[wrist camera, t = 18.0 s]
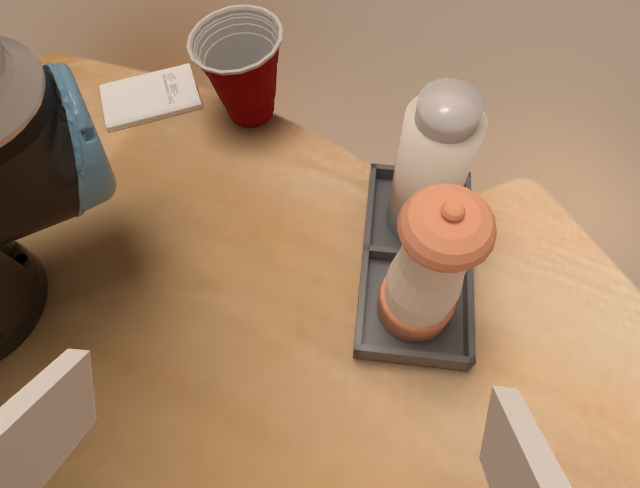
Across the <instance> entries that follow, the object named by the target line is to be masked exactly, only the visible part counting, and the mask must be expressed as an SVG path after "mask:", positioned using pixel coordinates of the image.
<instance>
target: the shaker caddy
mask: <svg viewBox="0 0 640 488" xmlns="http://www.w3.org/2000/svg"><path fill="white" fill-rule="evenodd" d="M394 170H395V166H393V165H381V164H371V172H370V181H369V191H368V202H367V213H366V223H365V234H364V245H363V256H362V266H361V277H360V288H359V299H358V309H357V320H356V331H355V341H354V352H353V358H358V359H366V360H375V361H383V362H392V363H400V364H409V365H417V366H426V367H434V368H443V369H451V370H460V371H468V370H470V369H471V368H472V367H473V366H474V365H475V364H476V360H475V321H474V282H473V268H472V269H470V270H467V271H466V273H465V275H464V280H463V285H462V289H461V293H460V296H459V299H458V300H457V302H456V306H455V309H454V313H453V315H452V317H451V318H450V320H449V321H448V323H447V324H446V326H445V327H444V329H443V330H442V331H441V333H440V334H439V335H437V336H436V337H434V338H433V339H431V340H429V341H425V342H421V343H412V342H406V341H403V340H400V339H398V338H396V337H394V336H393V335H392V334H390V333H389V332H388V331H387V330H386V329H385V327H384V326H383V324H382V323H381V322H380V319H379V315H378V312H377V300H378V296H379V291H380V287H381V285H382V282H383V279H384V278H385V276H386V275H387V272H388V269H389V267H390V264H391V262H392V261H393V259H394V258H395V256H396V255H397V253H398V252H399V250H400V249H401V246H402V243H401V241H400V240H399V239H397V238H396V237H395V236H394V235H393V234H392V233H391V231H390V230H389V228H388V226H387V222H386V213H387V207H388V202H389V197H390V191H391V186H392V181H393V175H394ZM463 187H466V188H468V189H470V190H471V172H469V174H468V177H467V179H466V182H465V184H464V186H463Z"/></svg>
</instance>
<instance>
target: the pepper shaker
mask: <svg viewBox="0 0 640 488" xmlns="http://www.w3.org/2000/svg"><path fill="white" fill-rule="evenodd" d="M496 232H497V231H496V222H495V217H494V215H493V213H492V211H491V209H490V207H489V206H488V205H487V203H486V202H485V201H484V200H483V199H482V198H481V197H480V196H479V195H478V194H476V193H475V192H473V191H472V190H470V189H468V188H466V187H463V186H460V185H456V184H446V183H440V184H435V185H431V186H426V187H424V188H422V189H420V190H418V191H417V192H415V193H413V194H412V196H411V197H410V198H409V199H408V200H407V201H406V202H405V203H404V205H403V206H402V207H401V210H400V213H399V215H398V218H397V233H398V235H399V238H400V241H401V243H402V246H401V249H400V250H399V252H398V253H397V255H396V256H395V258H394V259H393V261H392V262H391V264H390V267H389V269H388V272H387V275H386V276H385V278H384V279H383V282H382V285H381V287H380V291H379V296H378V300H377V312H378V315H379V319H380V322H381V323H382V324H383V326H384V327H385V329H386V330H387V331H388V332H389V333H390V334H392V335H393V336H394V337H396V338H398V339H400V340H403V341H406V342H412V343H421V342H425V341H429V340H431V339H433V338H434V337H436V336H437V335H439V334H440V333H441V331H442V330H443V329H444V327H445V326H446V324H447V323H448V321H449V320H450V318H451V317H452V315H453V313H454V309H455V306H456V302H457V300H458V299H459V296H460V293H461V289H462V285H463V280H464V275H465V273H466V271H467V270H470V269H472V268H474V267H475V266H477V265H478V264H480V263H482V262H483V261H485V259H486V258H487V257H488V255H489V254H490V253H491V251H492V250H493V247H494V243H495V239H496Z"/></svg>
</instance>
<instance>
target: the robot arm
mask: <svg viewBox="0 0 640 488" xmlns="http://www.w3.org/2000/svg"><path fill="white" fill-rule="evenodd" d="M115 190H116V179H115V176H114V174H113V171H112V169H111V166H110V164H109V161H108V159H107V156H106V154H105V151H104V149H103V146H102V144H101V141H100V139H99V136H98V134H97V131H96V129H95V127H94V124H93V122H92V119H91V117H90V114H89V112H88V110H87V107H86V105H85V102H84V100H83V97H82V95H81V93H80V90H79V88H78V85H77V83H76V81H75V78H74V76H73V74H72V71H71V69H70V68H69V66H68V65H66V64H64V63H54V64H53V63H50V62H49V63H47V64H44V66H42V65H41V63H40V62H39V60H38V59H37V57H36V56H35V55H34V54H33V53H32V52H31V51H30V50H29V48H27V47H26V46H24V45H23V44H22V43H20V42H17V41H15V40H13V39H10V38H7V37H4V36H0V360H1V359H3V358H4V357H6V356H7V355H8V354H10V353H11V352H12V351H13V350H14V349H16V348H17V347H18V346H19V345H20V344H21V343H22V342H23V341H24V340H25V338H26V337H27V336H28V335H29V333H30V332H31V331H32V329H33V328H34V326H35V325H36V323H37V321H38V319H39V318H40V315H41V313H42V311H43V308H44V305H45V301H46V296H47V279H46V274H45V271H44V268H43V266H42V264H41V263H40V261H39V260H38V259H37V258H36V256H35V255H34V254H32V253H31V252H30V251H29V250H28V249H26V248H25V247H24V246H23V245H21V244H20V243H18V242H17V241H15V240H17V239H20V238H22V237H25V236H28V235H30V234H33V233H35V232H38V231H40V230H43V229H45V228H48V227H50V226H53V225H56V224H58V223H61V222H63V221H66V220H68V219H71V218H73V217H78V216H81V215H82V214H83V213H84V212H85V211H87V210H89V209H91V208H93V207H95V206H97V205H99V204H101V203H103V202H105V201H107V200H109V199H110V198H111V197H112V196H113V195H114V193H115ZM96 422H97V417H96V406H95V396H94V385H93V375H92V364H91V354H90V350H79V349H67V350H66V351H64V352H63V353H62V354H61V355H60V356H59V357H58V358H56V359H55V360H54V361H53V362H52V363H51V364H49V365H48V366H47V367H46V368H45V369H44V370H43V371H41V372H40V373H39V374H38V375H37V376H36V377H34V378H33V379H32V380H31V381H30V382H29V383H28V384H26V385H25V386H24V387H23V388H22V389H21V390H19V391H18V392H17V393H16V394H15V395H14V396H13V397H11V398H10V399H9V400H8V401H7V402H6V403H4V404H3V405H2V406H1V407H0V488H43V487H44V486H45V485H46V484H47V482H48V481H49V480H50V479H51V477H52V476H53V475H54V474H55V473H56V471H57V470H58V469H59V468H60V466H61V465H62V464H63V463H64V461H65V460H66V459H67V458H68V456H69V455H70V454H71V453H72V451H73V450H74V449H75V448H76V446H77V445H78V444H79V443H80V441H81V440H82V439H83V438H84V437H85V435H86V434H87V433H88V432H89V430H90V429H91V428H92V427H93V425H94V424H95V423H96ZM479 458H480V461H481V464H482V467H483V470H484V473H485V476H486V479H487V482H488V485H489V488H572V487H571V485H570V483H569V481H568V480H567V478H566V476H565V474H564V472H563V470H562V469H561V467H560V465H559V463H558V461H557V460H556V458H555V456H554V454H553V452H552V450H551V449H550V447H549V445H548V443H547V441H546V440H545V438H544V436H543V434H542V432H541V430H540V429H539V427H538V425H537V423H536V421H535V420H534V418H533V416H532V414H531V412H530V410H529V409H528V407H527V405H526V403H525V401H524V400H523V398H522V396H521V394H520V392H519V391H518V389H517V388H511V387H500V386H492V391H491V397H490V402H489V408H488V413H487V419H486V424H485V430H484V435H483V441H482V446H481V452H480V457H479Z"/></svg>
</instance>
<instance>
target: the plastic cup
mask: <svg viewBox="0 0 640 488" xmlns="http://www.w3.org/2000/svg"><path fill="white" fill-rule="evenodd" d="M281 41H282V25H281V23H280V21H279V20H278V18H277V16H276V15H274V14H273V13H272V12H270V11H268V10H267V9H265V8H263V7H258V6H253V5H236V6H228V7H225V8H222V9H220V10H217V11H214V12H212V13H210V14H209V15H207V16H206V17H205V18H203V19H202V20H200V21H199V22H198V23H197V25H196V26H195V27H194V28H193V30H192V31H191V33H190V34H189V37H188V43H187V50H188V53H189V55H190V58H191V60H192V61H193V62H194V63H195V64H197V65H198V66H199V67H200V68H201V69H202V70H203V71H204V72H205V74H206V75H207V76H208V77H209V79H210V81H211V83H212V85H213V87H214V88H215V90H216V92H217V94H218V96H219V98H220V100H221V101H222V103H223V105H225V107H226V109H227V111H228V113H229V115H230V117H231V118H232V120H233V121H234V122H235V123H237V124H238V125H240V126H243V127H257V126H260V125H263V124H264V123H266V122H267V121H268V120H269V119H270V118H271V116H272V114H273V111H274V98H275V93H276V73H277V62H278V54H279V46H280V45H281Z"/></svg>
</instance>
